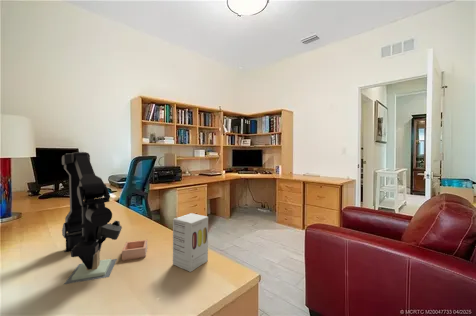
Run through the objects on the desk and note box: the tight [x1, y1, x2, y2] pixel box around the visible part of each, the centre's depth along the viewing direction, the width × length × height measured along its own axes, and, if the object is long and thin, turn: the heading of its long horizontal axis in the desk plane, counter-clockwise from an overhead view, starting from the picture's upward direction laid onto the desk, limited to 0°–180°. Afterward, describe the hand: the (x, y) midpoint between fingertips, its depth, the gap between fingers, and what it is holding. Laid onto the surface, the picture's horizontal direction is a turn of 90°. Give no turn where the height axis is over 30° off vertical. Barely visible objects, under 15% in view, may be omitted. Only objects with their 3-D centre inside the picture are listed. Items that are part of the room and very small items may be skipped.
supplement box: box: [172, 212, 209, 273], centre depth 78 cm, size 10×9×17 cm
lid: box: [72, 249, 112, 280], centre depth 72 cm, size 9×9×6 cm
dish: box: [121, 239, 148, 261], centre depth 83 cm, size 8×8×4 cm
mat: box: [63, 258, 118, 285], centre depth 72 cm, size 12×12×1 cm
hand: (93, 264), depth 72 cm, fingers open, 6 cm apart
